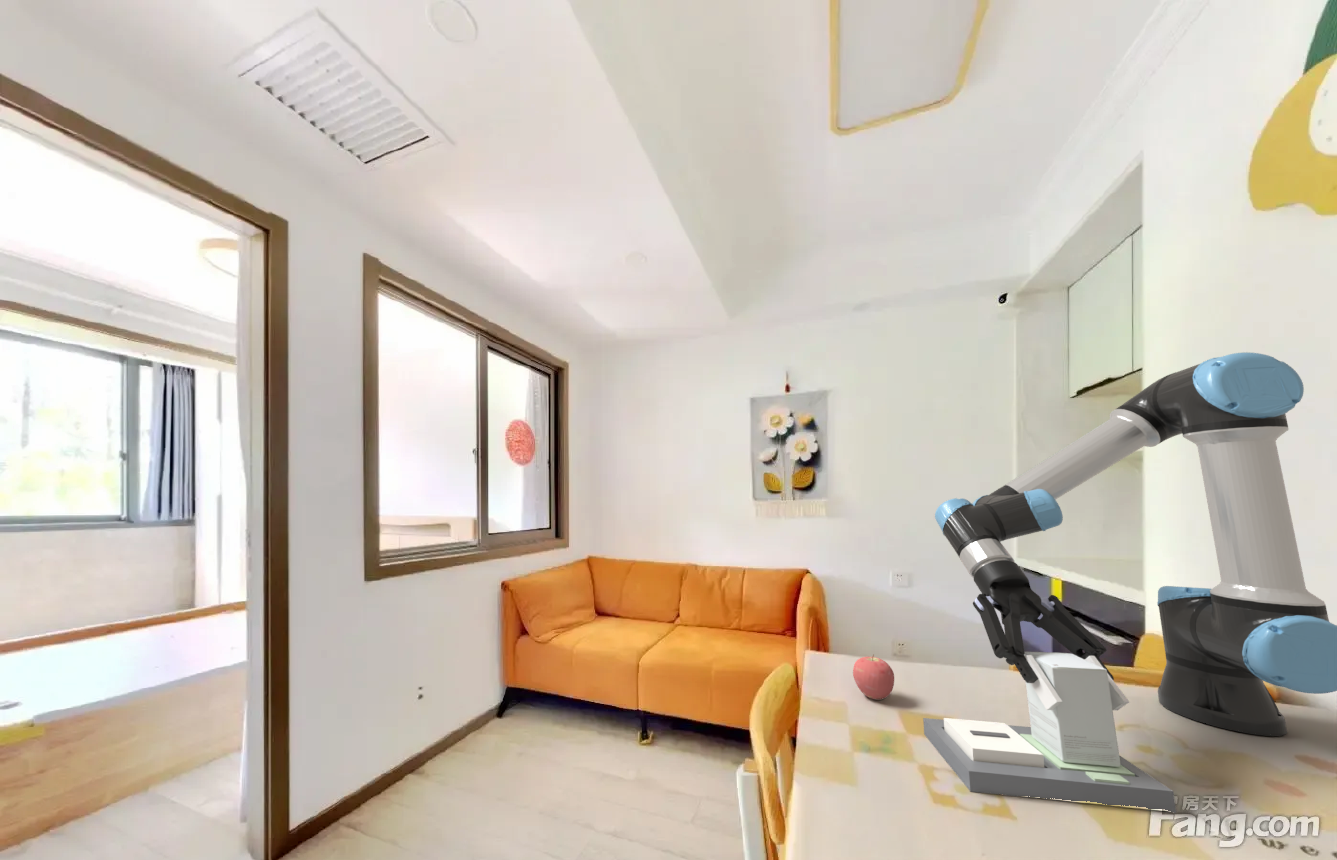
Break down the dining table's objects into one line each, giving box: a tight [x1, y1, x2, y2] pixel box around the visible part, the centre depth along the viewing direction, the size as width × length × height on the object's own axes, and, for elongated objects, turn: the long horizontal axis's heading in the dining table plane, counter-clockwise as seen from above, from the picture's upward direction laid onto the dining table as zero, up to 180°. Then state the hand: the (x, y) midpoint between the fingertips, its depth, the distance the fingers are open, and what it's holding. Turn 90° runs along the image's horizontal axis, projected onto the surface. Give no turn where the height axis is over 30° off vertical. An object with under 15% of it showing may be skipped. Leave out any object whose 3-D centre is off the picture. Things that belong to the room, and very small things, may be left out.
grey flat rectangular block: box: [922, 717, 1177, 814], centre depth 66 cm, size 24×15×4 cm, turn 82°
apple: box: [852, 654, 895, 701], centre depth 89 cm, size 7×7×8 cm
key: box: [1020, 734, 1135, 776], centre depth 66 cm, size 9×9×2 cm
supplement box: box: [1024, 651, 1121, 767], centre depth 67 cm, size 7×7×13 cm
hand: (1087, 706), depth 64 cm, fingers open, 9 cm apart
